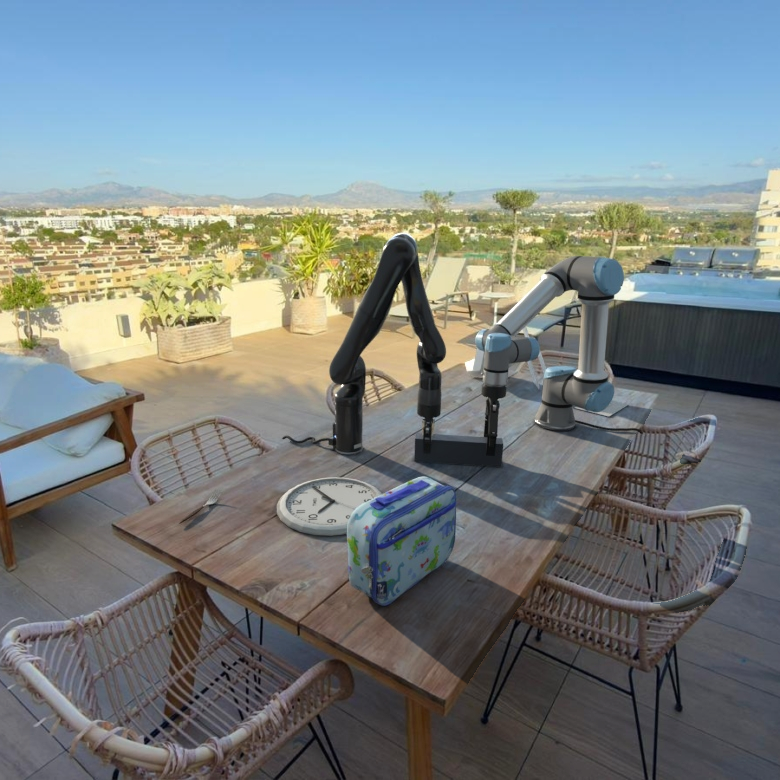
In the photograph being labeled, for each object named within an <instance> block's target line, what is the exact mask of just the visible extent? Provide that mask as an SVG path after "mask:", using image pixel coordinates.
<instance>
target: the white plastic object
mask: <svg viewBox="0 0 780 780" xmlns="http://www.w3.org/2000/svg"><path fill="white" fill-rule="evenodd" d="M522 332H523V336H524V337H530V334H529V332H528V328H527V325H526V326H525V327H524V328H523V329H522ZM484 357H485V352H483V351H481V350H479V349H478V348H477V347H476V351H475V355H474V358H473V359H471V360H468V361H465V362H464V365H465V370H466V372H467V374H468V375H469V377H471V378H472V377H481V376H482V375H481V373H483V372H484ZM537 359H538V362H539V364H540V367H541V370H542V373H543V376H544V375H545V370H546V369H547V366H546V364H545V363H546V362H545V360H544V358H543V355H542V351H541V350H540V352H539V355H538V357H537ZM526 363H527V367H528V370H529V372H530V376H531V379H532V382H533V384H534V386H535V387H536V388H537V389H538V390H540V383H539V380H538V377H537V374H536V371H535V368H534V365H533V360H531V361H528V362H526ZM515 364H516V363H511V364H509V368H511V367H512V366H513V365H515ZM482 377H483V376H482Z"/></svg>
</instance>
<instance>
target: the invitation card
mask: <svg viewBox="0 0 780 780" xmlns="http://www.w3.org/2000/svg"><path fill="white" fill-rule="evenodd" d="M628 406H629V404H627V403H623V402H618V401H614V400H612V401H611V402H610V404H609V405H608V406H607V408H605V409H604V410H603V411H601V412H592V411H587V410H585V409H582V408H579V407H577V406H574V407H573V409H575V410H581V411H584V412H587V413H593V414H596V415H600V416H604V417H608V418H609V417H611V416H613V415H614V414H616V413H617V412H619V411H621V410H623V409H624V408H626V407H628Z"/></svg>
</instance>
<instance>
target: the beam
mask: <svg viewBox="0 0 780 780" xmlns="http://www.w3.org/2000/svg"><path fill="white" fill-rule="evenodd" d="M425 439H429V438H425ZM431 441H432V442H431V449H430V454H425V453H424V452H423V451H424V443H423V435H422V432H416V433H415V437H414V456H413V457H414V459H413V462H417V463H432V464H433V463H434V464H450V465H464V466H476V467H477V466H478V467H491V468H493V467H494V468H495V467H496V468H502V464H503V455H504V440H503V438H502V437H496V448H495V456H486V446H487V437H484V436H473V435H472V436H471V435H456V434H441V433H433V436H431Z"/></svg>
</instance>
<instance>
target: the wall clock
mask: <svg viewBox="0 0 780 780" xmlns="http://www.w3.org/2000/svg"><path fill="white" fill-rule="evenodd" d="M381 494H384V492H382V491H381V490H380V489H379V488H377V487H376V486H374V485H372V484H371V483H369V482H365V481H362V480H359V479H355V478H349V477H338V476H337V477H335V476H333V477H332V476H331V477H322V478H317V479H312V480H307V481H305V482H302V483H299V484H297V485H295V486H293V487H292V488H290V489H288V490H287V491H286V492H285V493H284V494H283V495H281V496H280V498H279V499H278V502H277V503H276V515H277V517H278V518H279V520H280V521H281V522H282V523H283V524H285V525H286V526H287V527H288V528H290V529H293V530H295V531H297V532H299V533H303V534H308V535H312V536H327V537H328V536H329V537H331V536H332V537H333V536H342V535H347V525H348V521H349V518H350V516H351V514H352V513H353V511H354V510H355V509H356V508H357V507H358V506H360V505H362V504H363V503H365V502H368V501H370V500H372V499H374V498H376V497H378V496H380V495H381Z"/></svg>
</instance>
